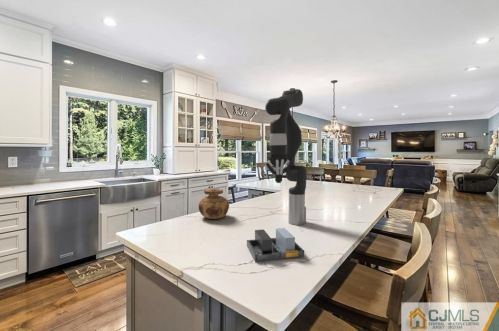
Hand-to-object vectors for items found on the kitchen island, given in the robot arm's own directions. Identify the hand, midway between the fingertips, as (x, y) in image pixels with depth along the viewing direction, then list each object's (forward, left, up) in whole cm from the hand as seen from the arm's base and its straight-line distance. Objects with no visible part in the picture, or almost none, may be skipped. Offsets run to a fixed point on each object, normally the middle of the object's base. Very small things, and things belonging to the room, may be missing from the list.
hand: (278, 182), depth 110 cm
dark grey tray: (+5, +8, -28) cm, 29 cm away
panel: (0, +8, -27) cm, 28 cm away
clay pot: (+26, -49, -28) cm, 62 cm away
